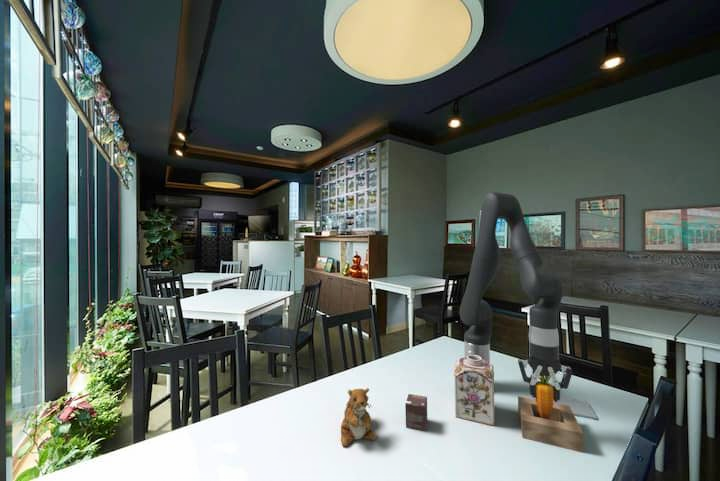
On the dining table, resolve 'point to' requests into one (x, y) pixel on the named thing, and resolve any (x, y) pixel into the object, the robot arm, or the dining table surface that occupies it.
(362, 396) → the stuffed squirrel
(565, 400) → the rubber mat
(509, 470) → the dining table surface
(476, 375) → the decorative jar
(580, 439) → the socket block
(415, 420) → the box
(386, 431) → the dining table surface
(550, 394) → the carrot
